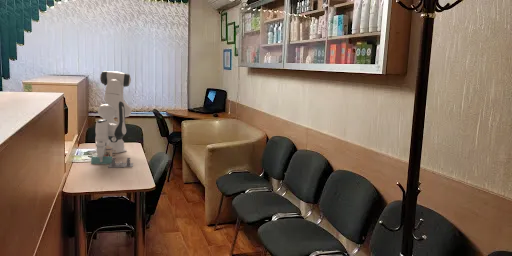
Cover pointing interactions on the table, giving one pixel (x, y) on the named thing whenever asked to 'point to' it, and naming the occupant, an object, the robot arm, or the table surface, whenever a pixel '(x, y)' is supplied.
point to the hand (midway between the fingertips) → (101, 160)
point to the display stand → (120, 164)
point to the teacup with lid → (109, 151)
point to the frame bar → (97, 160)
